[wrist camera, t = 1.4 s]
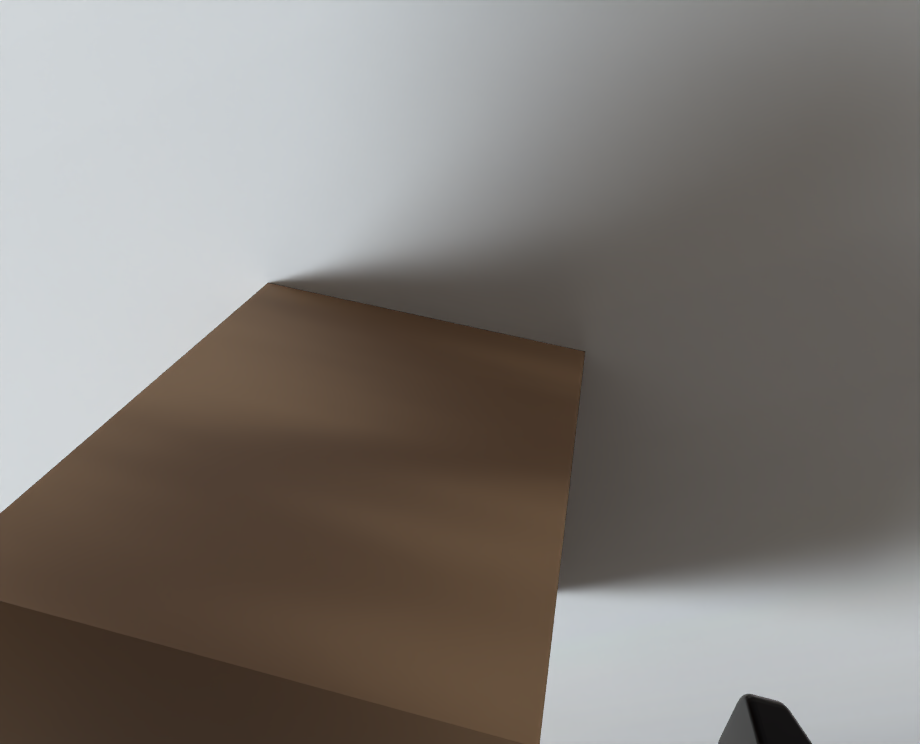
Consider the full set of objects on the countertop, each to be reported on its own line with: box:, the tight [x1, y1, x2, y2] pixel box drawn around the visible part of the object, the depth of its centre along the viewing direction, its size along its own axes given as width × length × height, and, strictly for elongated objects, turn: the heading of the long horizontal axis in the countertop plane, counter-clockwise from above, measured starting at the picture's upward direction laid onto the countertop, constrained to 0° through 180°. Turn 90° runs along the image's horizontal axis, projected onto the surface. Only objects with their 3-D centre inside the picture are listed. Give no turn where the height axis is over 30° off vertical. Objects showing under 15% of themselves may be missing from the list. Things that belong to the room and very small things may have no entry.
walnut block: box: [0, 283, 585, 744], centre depth 9 cm, size 4×4×6 cm
